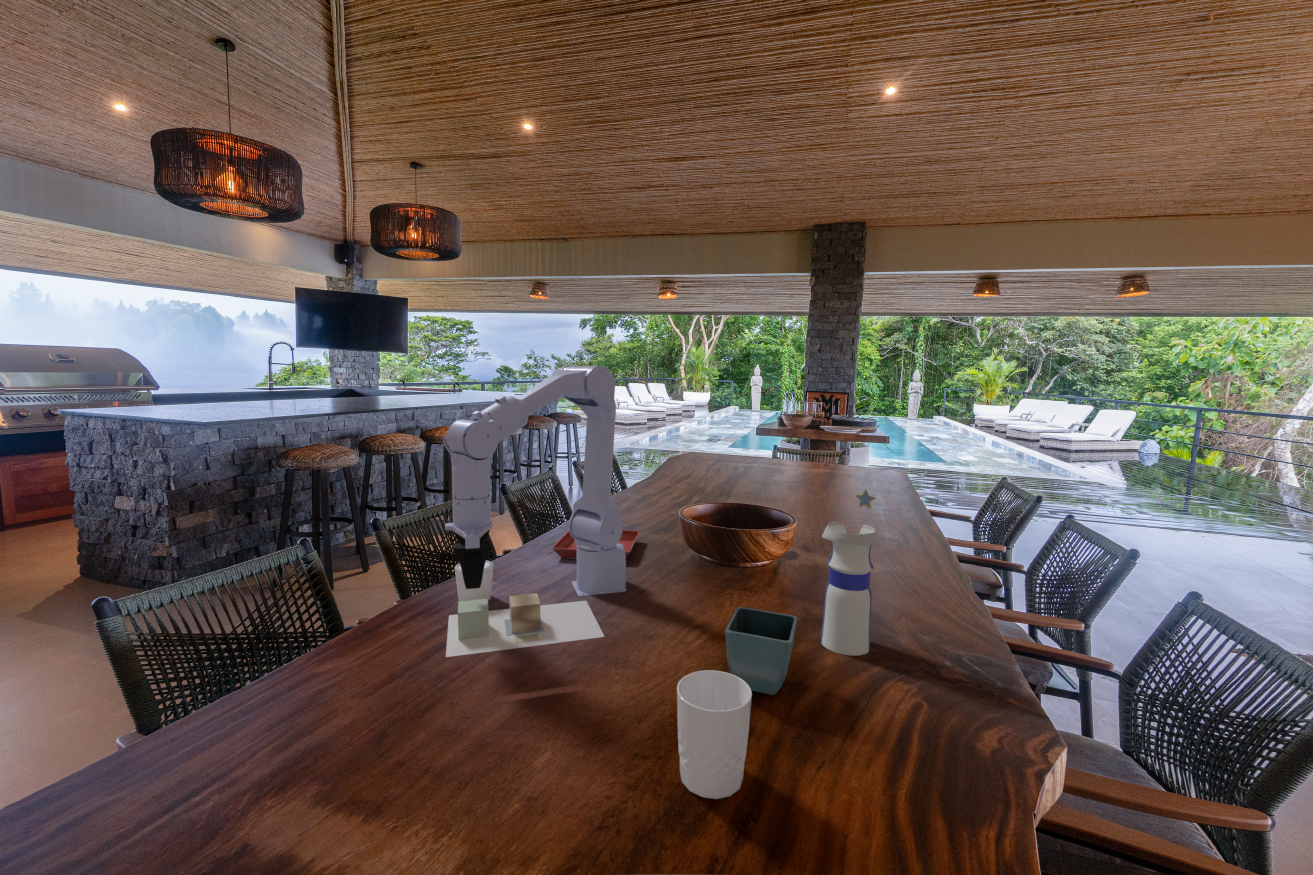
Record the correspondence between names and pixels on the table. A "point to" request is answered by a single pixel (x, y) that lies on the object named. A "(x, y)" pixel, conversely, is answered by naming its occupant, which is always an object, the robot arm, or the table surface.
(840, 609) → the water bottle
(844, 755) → the table surface
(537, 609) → the maple block
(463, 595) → the white tumbler
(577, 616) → the blueprint baseplate
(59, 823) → the table surface
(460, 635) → the sage block
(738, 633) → the flower pot
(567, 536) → the plant saucer
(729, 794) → the white cup
